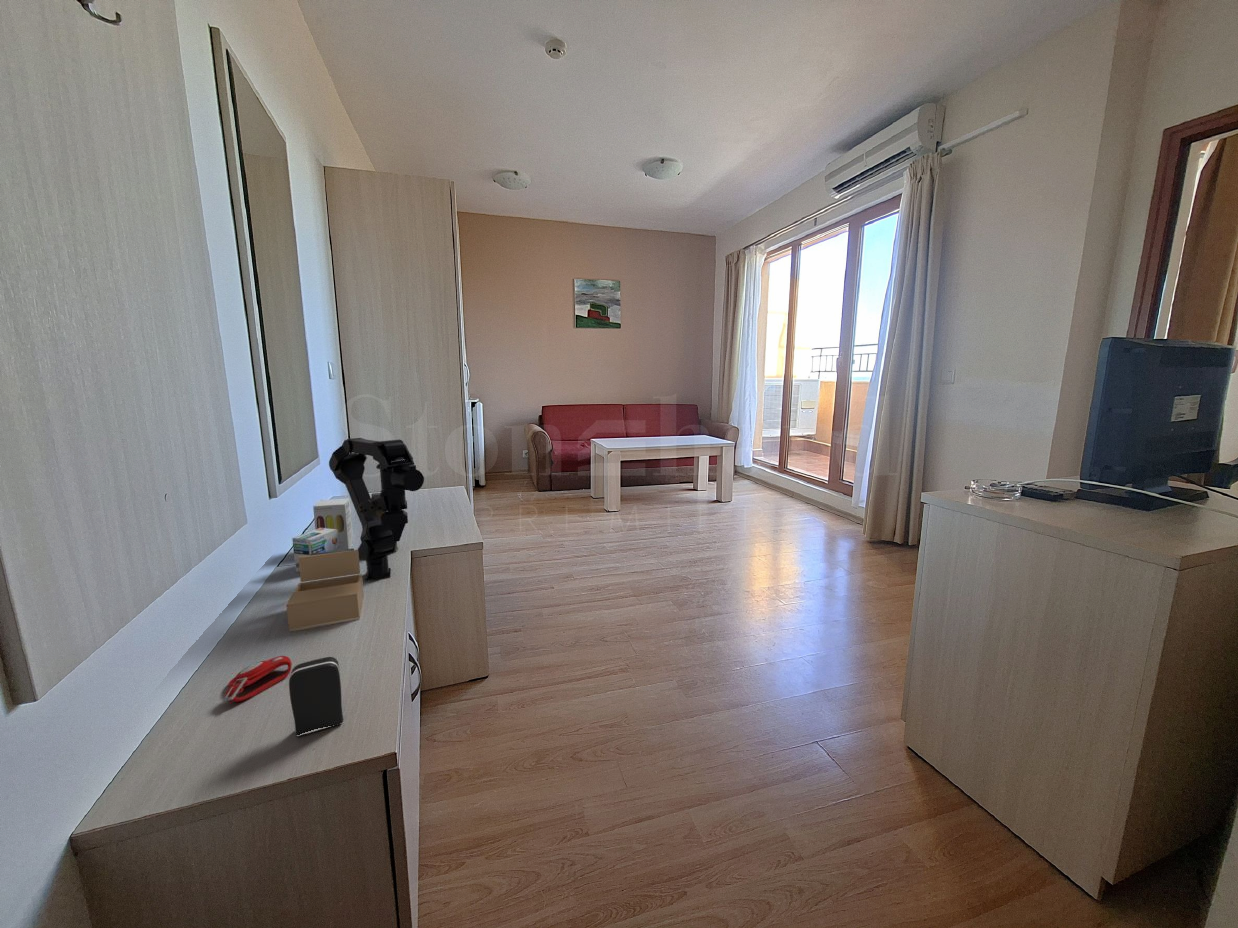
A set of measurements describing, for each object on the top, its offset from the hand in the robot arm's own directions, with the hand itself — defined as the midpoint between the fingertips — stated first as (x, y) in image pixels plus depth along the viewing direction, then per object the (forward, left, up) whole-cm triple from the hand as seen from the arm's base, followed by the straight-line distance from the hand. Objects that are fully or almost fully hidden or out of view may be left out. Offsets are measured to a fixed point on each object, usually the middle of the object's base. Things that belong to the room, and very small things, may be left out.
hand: (397, 541), depth 128 cm
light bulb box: (-25, -23, -13) cm, 36 cm away
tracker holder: (+37, -25, -14) cm, 47 cm away
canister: (-32, -6, -13) cm, 35 cm away
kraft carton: (+10, -16, -13) cm, 23 cm away
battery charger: (+54, -12, -13) cm, 57 cm away
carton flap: (+3, -16, -4) cm, 17 cm away
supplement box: (-40, -20, -13) cm, 47 cm away
